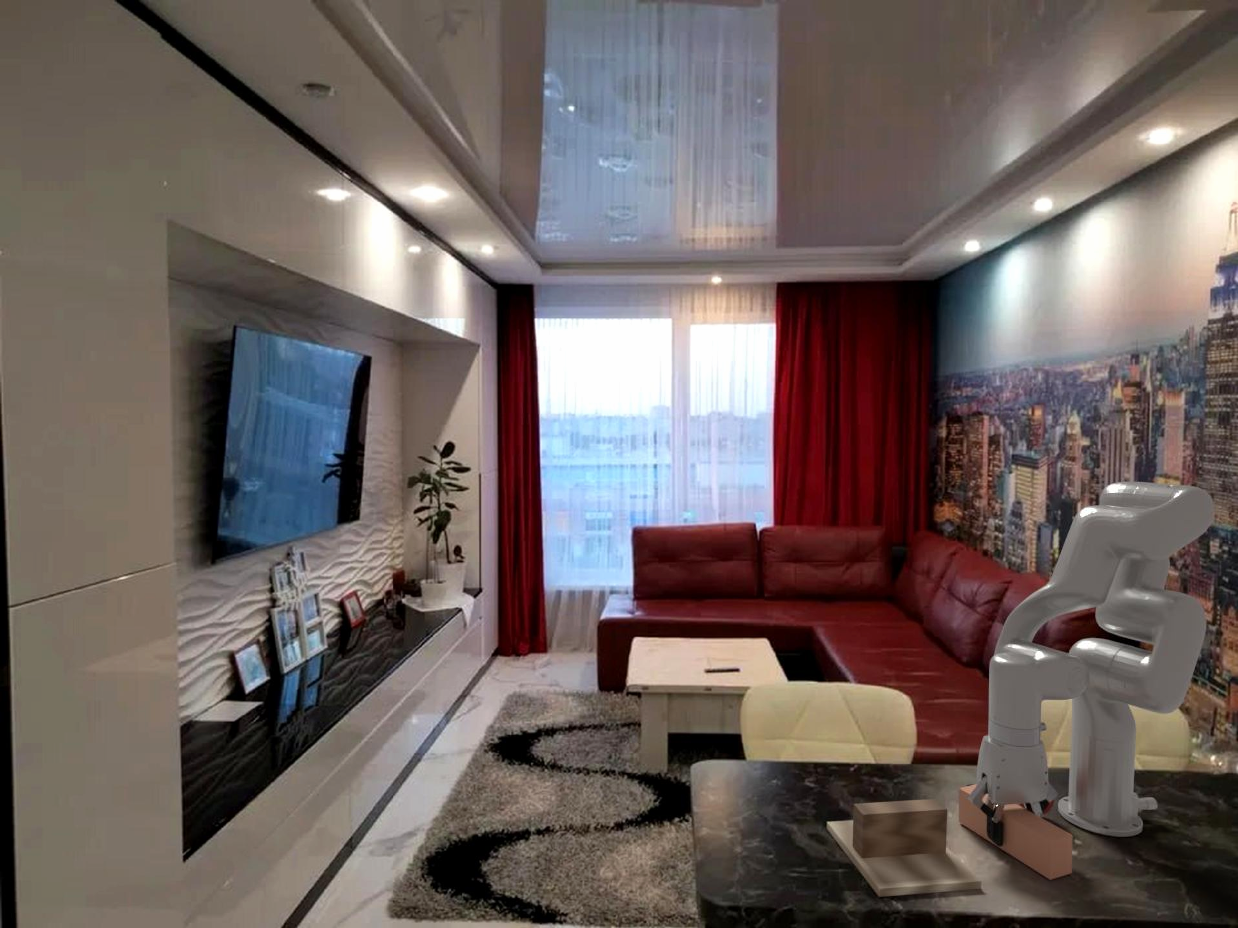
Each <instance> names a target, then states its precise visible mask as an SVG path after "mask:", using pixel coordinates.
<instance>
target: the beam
mask: <svg viewBox="0 0 1238 928" xmlns="http://www.w3.org/2000/svg"><path fill="white" fill-rule="evenodd" d="M969 785H970V784H969ZM965 786H966V787H965ZM965 786H963V787H959V788H958V789H959V790H958V794H959V795H958V822H959V823H960V824H961V825H962V826H964V827H966V828H968V829H970V830H971V831H972V832H974V833H976V834H977V835H979V836H980V837H982V838H984V839H985V840H987V841H989V842H990V843H991V844H993V845H995V846H996V847H998V848H999V849H1001V850H1002V851H1003V852H1005V853H1007V854H1008V855H1010V856H1011V857H1013V858H1015V859H1016V860H1018V861H1020V862H1021V863H1022V864H1024V865H1026V866H1027V867H1030V868H1031V869H1033V870H1034V871H1035V872H1037V873H1038V874H1040V875H1042V876H1043V877H1045V878H1046V879H1048V880H1050V881H1052V880H1054V879H1057V878H1061V877H1064V876H1067V875H1069V874H1070V875H1071V874H1073V838H1074V837H1073V836H1074V835H1072V834H1071V833H1069V831H1068V832H1067V831H1066V830H1064V829H1062V828H1061V827H1059V826H1056V825H1055V824H1053V823H1051V822H1050V821H1047V820H1046V819H1044V818H1043V817H1042V818H1041V817H1039V816H1037V815H1035V814H1033V813H1032V812H1030V811H1028V810H1026V809H1024V808H1023V807H1021V806H1020V804H1010V805H1005V806H1004V809H1003V812H1002V815H1001V818H1000V821H1001V822H1002V823H1003V845H1002V846H997V845H996V844H995V843H994V842H993V841H992V840H991V839H989V838H988V835H987V815H985V814H984V813H983V812H982V811H981V810H980V809H979V808H978V807H977V806H976V805H975V804H973V803H972V802H971V801H970V800H969V799H968V797H969V795H970V794H971V793H972V791H973V790H974V789H975V787H976V784H975V783H974V785H970V786H967V785H965ZM987 797H988V794H986V795H985V796H984V797H983V799H982V801H983V802H984V803H986V800H987ZM994 808H995V804H994V807H993V811H994Z"/></svg>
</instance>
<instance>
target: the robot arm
mask: <svg viewBox="0 0 1238 928" xmlns="http://www.w3.org/2000/svg"><path fill="white" fill-rule="evenodd" d="M1214 516H1215V503H1214V499H1213V498H1212V496H1211V495H1210V494H1209V492H1207V491H1206V490H1204V489H1202V488H1201V487H1198V486H1192V485H1186V484H1183V485H1182V484H1174V483H1173V484H1172V483H1171V484H1170V483H1159V482H1157V483H1156V482H1147V481H1118V482H1113V483H1111V484H1109V485H1106V486H1105V487H1104V488H1103V490H1102V492H1101V495H1100V498H1099V505H1089V506H1086V507H1084V508H1081V509H1080V510H1079V511H1078V512H1077V513H1076V514H1075V516H1074V518H1073V520H1072V523H1071V525H1070V527H1069V528H1070V529H1069V531H1068V533H1067V535H1066V538H1065V541H1064V543H1063V546H1062V549H1061V552H1060V553H1059V555H1058V556H1059V557H1058V560H1057V562H1056V565H1054V566H1055V567H1054V569H1053V573H1052V575H1051V577H1050V579H1049V581H1048V582H1047V584H1045V585H1044V586H1042V587H1040V588H1039V589H1038V590H1036V591H1034V592H1033V593H1031V594H1030V595H1029V596H1027V597H1026V598H1025V599H1024V600H1023V601H1021V602H1020V603H1019V604H1018V605H1017V606H1016V607H1015V608H1013V610H1012V611H1011V612H1010V613H1009V615H1008V616H1007V617H1006V620H1005V622H1004V624H1003V626H1002V628H1001V629H1002V630H1001V632H1000V634H999V637H998V639H997V642H996V645H995V648H994V654H993V656H992V657H991V658H990V661H989V667H988V668H989V673H988V676H989V677H988V678H989V679H988V681H989V683H988V728H987V729H988V731H987V732H988V733H987V735H983V737H982V740H981V744H980V748H979V752H978V760H977V766H976V767H977V768H976V777H975V778H976V780H975V782H976V787H975V789H974V790H973V791H972V793H971V794H970V795H969V797H968V799H969V800H970V801H971V802H972V803H973V804H975V805H976V806H977V807H978V808H979V809H980V810H981V811H982V812H983V813H984V814H985V815H987V835H988V838H989V839H991V840H992V841H993V842H994V843H995V844H996V845H997V846H996V845H995V846H996V847H998V846H1002V845H1003V823H1002V822H1001V821H1000V818H1001V815H1002V812H1003V809H1004V806H1005V805H1010V804H1017V805H1020V804H1022V803H1024V806H1025V809H1026V810H1028V811H1030V812H1032V813H1033V814H1035V815H1037V816H1039V817H1041V818H1042V819H1043V815H1044V814H1042V812H1043V811H1044V810H1045V809H1046V808H1047V807H1048V805H1049V802H1051V801H1052V800H1053V799H1054V800H1055V799H1056V797H1057V796H1058V795H1059V794H1058V792H1057V790H1056V789H1055V788H1054V786H1052V784H1051V783H1050V782H1049V768H1048V757H1047V753H1046V748H1045V744H1044V741H1043V740H1042V735H1041V734H1042V732H1044V731H1047V725H1046V723H1045V722H1044V721H1043V722H1042V702H1043V701H1068V700H1071V706H1072V707H1071V729H1070V748H1069V749H1070V750H1069V751H1070V752H1069V753H1070V755H1069V756H1070V757H1069V774H1068V775H1069V776H1068V777H1069V778H1068V795H1067V796H1064V797H1062V798H1061V799H1059V801H1058V804H1057V810H1058V813H1059V814H1060V815H1061V816H1062V817H1063V819H1065V820H1066V821H1068V822H1070V823H1071V824H1073V825H1074V826H1077V827H1079V828H1080V829H1084V830H1087V831H1089V832H1092V833H1095V834H1099V835H1103V836H1110V837H1118V838H1119V837H1120V838H1125V837H1135V836H1136V835H1137V836H1138V835H1139V834H1140V833H1142V831H1143V827H1144V823H1143V819H1142V818H1141V817H1140V816H1139V815H1138V814H1139V813H1141V812H1142V811H1143V810H1146V811H1147V810H1148V811H1149V810H1157V808H1158V801H1157V800H1156V798H1154V797H1141V798H1139V795H1138V794H1137V792H1134V782H1135V779H1134V778H1135V763H1136V762H1135V760H1136V741H1137V724H1136V720H1135V717H1134V713H1133V712H1132V709H1131V707H1130V706H1132V707H1135V708H1138V709H1142V710H1146V711H1149V712H1152V713H1156V714H1159V715H1160V714H1164V715H1166V714H1171V713H1173V712H1175V711H1176V710H1178V709H1179V708H1180V706H1181V705H1182V703H1184V702H1183V701H1184V700H1185V697H1186V695H1187V694H1188V690H1189V687H1190V684H1191V681H1192V677H1193V674H1194V672H1195V668H1196V665H1197V664H1198V663H1197V662H1198V659H1199V656H1200V653H1201V651H1202V648H1203V647H1202V646H1203V643H1204V640H1205V636H1206V631H1207V615H1206V611H1205V608H1204V607H1203V605H1202V604H1201V602H1200V601H1199V600H1198V599H1197V598H1195V597H1194V596H1191V595H1189V594H1187V593H1183V592H1179V591H1174V590H1169V589H1165V586H1166V582H1167V579H1168V576H1169V572H1170V567H1171V562H1170V561H1171V560H1170V558H1169V557H1170V556H1173V555H1174V554H1175V553H1177V552H1179V551H1180V550H1182V549H1183V548H1184V547H1186V546H1187V545H1189V544H1190V543H1192V542H1193V541H1195V540H1196V539H1199V538H1200V537H1201V536H1202V535H1203V534H1204V533H1205V532H1206V531H1207V530H1208V529H1209V528H1210V526H1212V522H1213V521H1214V518H1215V517H1214ZM1092 608H1096V609H1095V620H1096V623H1097V624H1098V626H1099V627H1100V628H1101V629H1103V630H1104V631H1106V632H1107V633H1111V634H1113V635H1116V636H1118V637H1123V638H1127V639H1130V640H1134V641H1138V642H1142V643H1146V644H1149V645H1153V647H1152V651H1151V650H1147V649H1143V648H1139V647H1135V646H1133V645H1129V644H1125V643H1122V642H1121V643H1120V642H1117V641H1114V640H1110V639H1105V638H1096V637H1089V638H1087V637H1086V638H1082V639H1080V640H1078V641H1076V642H1075V643H1074V644H1073V645H1072V646H1071V647H1070V649H1069V652H1065V651H1061V650H1057V649H1055V648H1051V647H1048V646H1044V645H1042V644H1038V643H1034V642H1033V640H1034V638H1035V636H1036V634H1037V632H1038V631H1039V630H1040V628H1041V627H1043V625H1045V624H1046V623H1047V622H1049V621H1050V620H1052V619H1054V618H1057V617H1059V616H1061V615H1066V614H1069V613H1074V612H1078V611H1082V610H1087V609H1092ZM986 794H988V797H987V800H986V803H984V802H983V801H982V799H983V797H984V796H985V795H986ZM994 804H995V808H994V811H993V807H994Z"/></svg>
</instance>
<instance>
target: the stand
mask: <svg viewBox="0 0 1238 928" xmlns="http://www.w3.org/2000/svg"><path fill="white" fill-rule="evenodd" d="M852 811H853V815H852V816H853V818H852V819H851V820H849V819H848V820H836V821H826V830H827V832H829V834H830V835H831V836H832V837H833V839H834V840H835V841H836V843H837V844H838V845H839V846H840V848H841V849H842V850H843V852H844V853H845V855H846V856H847V857H848V858H849V859H850V861H851V863H853V865H854V866H855V868H856V869H857V870H858V872H859V873H860V874H861V875H862V877H864V879H865V880H866V881H867V883H868V884H869V886H870V887H871V889H873V891H874V892H875V893H876V895H877V896H878V898H880V897H881V898H882V897H892V896H905V895H908V896H909V895H918V894H932V893H933V894H934V893H944V892H957V891H960V892H961V891H970V890H971V891H972V890H981V889H982V880H981V879H980V878H979V877H978V876H977V875H976V874H975V873H974V872H973V871H972V870H971V869H970V868H969V867H968V866H967V865H966V864H965V863H964V862H963V861H962V860H961V859H960V858H959V857H957V855H955V854H954V852H953V851H951V849H949V848H948V847H947V833H948V832H947V831H948V826H947V825H948V808H946V807H945V806H944V805H943V804H942V803H941V802H940V801H939V800H938V799H936V798H926V799H912V800H909V799H908V800H898V801H897V800H896V801H881V802H880V801H879V802H878V801H877V802H863V803H861V802H859V803H853V810H852Z"/></svg>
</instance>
